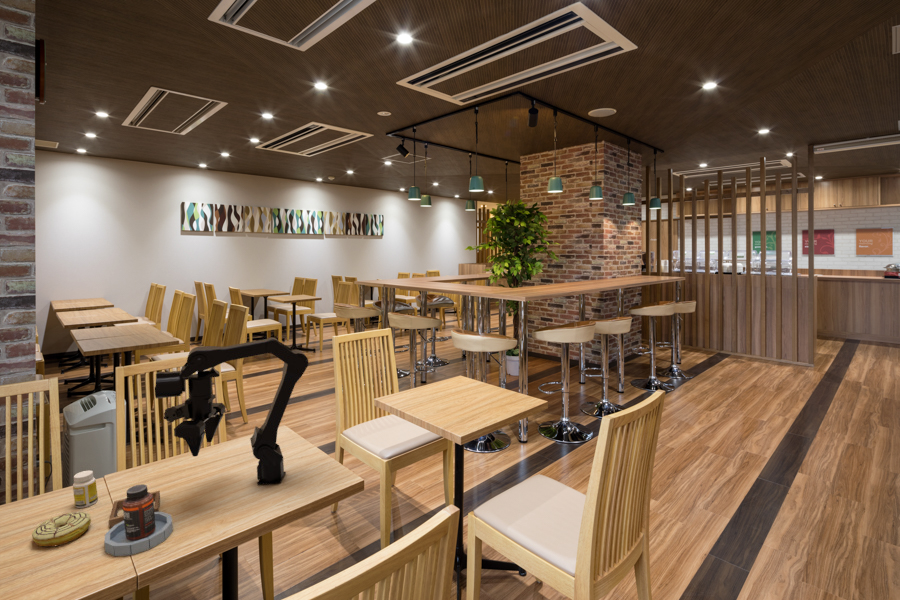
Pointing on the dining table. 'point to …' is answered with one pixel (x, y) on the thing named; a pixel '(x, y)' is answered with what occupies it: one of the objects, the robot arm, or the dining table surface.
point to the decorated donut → (61, 529)
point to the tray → (119, 505)
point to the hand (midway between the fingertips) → (202, 448)
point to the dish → (123, 547)
